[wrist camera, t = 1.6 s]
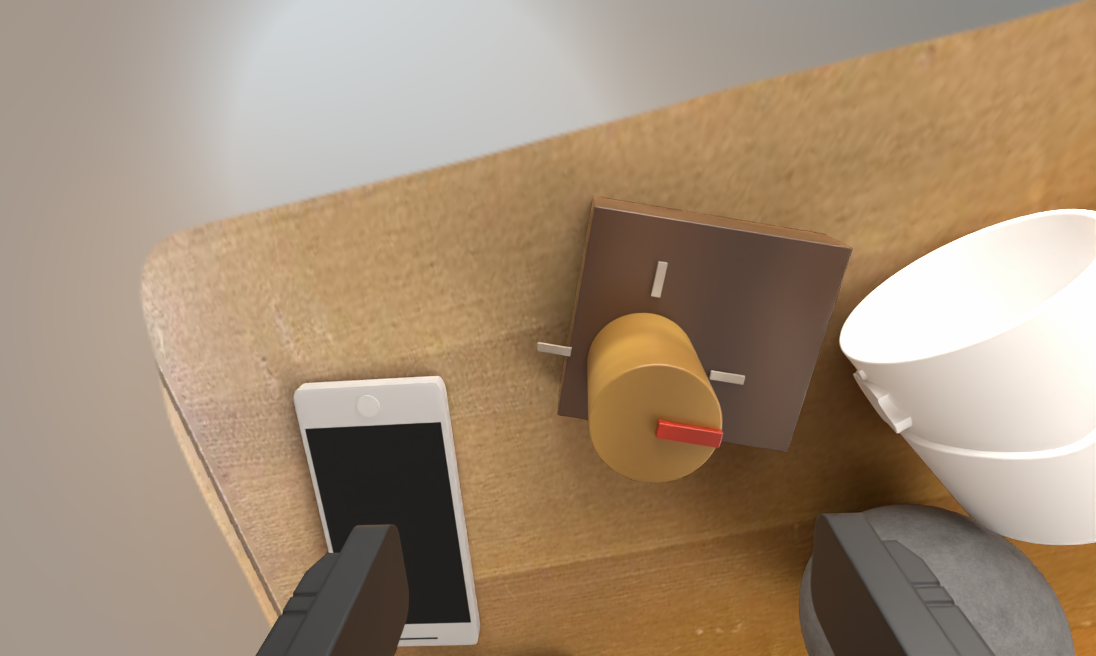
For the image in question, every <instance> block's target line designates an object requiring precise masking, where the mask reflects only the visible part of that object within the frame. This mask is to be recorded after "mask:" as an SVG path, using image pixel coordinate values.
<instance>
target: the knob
mask: <svg viewBox="0 0 1096 656" xmlns="http://www.w3.org/2000/svg"><path fill="white" fill-rule="evenodd" d="M587 384H588V430H589V436H590V440H591V443H592V445H593V448H594V450H595V452H596V453H597V455H598V456H599V457H600V459H601V460H602V461H603V462H604V463H605V464H606V465H607V466H608V467H609V468H611V469H612V470H613V471H615V472H616V473H618V474H620V475H622V476H624V477H626V478H629V479H631V480H635V481H639V482H646V483H661V482H668V481H673V480H676V479H679V478H682V477H684V476H686V475H688V474H690V473H692V472H693V471H695V470H696V469H698V468H699V467H700V466H701V465H703V464H704V463H705V462H706V460H707V459H708V458H709V457H710V456H711V454H712V453H713V451H714V450H715V448H720V444H721V441H722V437H723V432H722V411H721V407H720V404H719V401H718V399H717V397H716V395H715V392H714V390H713V388H712V386H711V384H710V382H709V380H708V377H707V375H706V373H705V371H704V369H703V367H702V365H701V363H700V360H699V358H698V356H697V354H696V352H695V350H694V348H693V345H692V343H691V341H690V339H689V338H688V336H687V334H686V333H685V332H684V331H683V330H682V329H681V328H680V327H679V326H678V325H677V324H676V323H674V322H673V321H671V320H669V319H667V318H665V317H663V316H660V315H656V314H652V313H634V314H628V315H625V316H622V317H620V318H617V319H615V320H613V321H612V322H610V323H609V324H607V325H606V326H605V327H604V328H603V329H602V330H601V331H600V332H599V333H598V334H597V336H596V337H595V339H594V340H593V342H592V344H591V346H590V349H589V353H588V358H587Z"/></svg>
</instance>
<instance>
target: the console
mask: <svg viewBox="0 0 1096 656" xmlns="http://www.w3.org/2000/svg"><path fill="white" fill-rule="evenodd" d="M851 252H852V248H851V247H849V246H847V245H845V244H843V243H841V242H839V241H837V240H835V239H833V238H831V237H829V236H827V235H825V234H822V233H816V232H810V231H804V230H798V229H792V228H786V227H779V226H773V225H767V224H761V223H755V222H749V221H743V220H737V219H731V218H725V217H719V216H712V215H706V214H700V213H694V212H688V211H682V210H676V209H670V208H664V207H658V206H651V205H645V204H639V203H633V202H627V201H621V200H615V199H609V198H603V197H597V196H593V200H592V206H591V211H590V217H589V223H588V228H587V234H586V240H585V245H584V251H583V257H582V262H581V268H580V274H579V279H578V285H577V291H576V296H575V302H574V307H573V313H572V319H571V324H570V330H569V336H568V341H567V347H566V346H560V345H554V344H548V343H542V342H538V345H537V351H540V352H546V353H552V354H558V355H564V356H565V358H564V364H563V370H562V375H561V381H560V388H559V400H558V412H557V414H558V415H561V416H568V417H574V418H580V419H586V420H588V384H587V358H588V353H589V349H590V346H591V344H592V342H593V340H594V339H595V337H596V336H597V334H598V333H599V332H600V331H601V330H602V329H603V328H604V327H605V326H606V325H607V324H609V323H610V322H612V321H613V320H615V319H617V318H620V317H622V316H625V315H628V314H634V313H652V314H656V315H660V316H663V317H665V318H667V319H669V320H671V321H673V322H674V323H676V324H677V325H678V326H679V327H680V328H681V329H682V330H683V331H684V332H685V333H686V334H687V336H688V338H689V339H690V341H691V343H692V345H693V348H694V350H695V352H696V354H697V356H698V358H699V360H700V363H701V365H702V367H703V369H704V371H705V373H706V375H707V377H708V380H709V382H710V384H711V386H712V388H713V390H714V392H715V395H716V397H717V399H718V401H719V404H720V407H721V411H722V432H723V437H722V441H721V442H727V443H733V444H739V445H745V446H751V447H757V448H763V449H770V450H776V451H782V452H788V449H789V446H790V442H791V439H792V436H793V433H794V430H795V427H796V424H797V421H798V418H799V414H800V411H801V408H802V405H803V402H804V399H805V396H806V393H807V390H808V386H809V383H810V380H811V377H812V374H813V371H814V368H815V365H816V361H817V358H818V355H819V352H820V349H821V346H822V343H823V340H824V337H825V333H826V330H827V327H828V324H829V321H830V318H831V315H832V312H833V309H834V305H835V302H836V299H837V296H838V293H839V290H840V287H841V284H842V280H843V277H844V274H845V271H846V268H847V265H848V262H849V259H850V256H851Z"/></svg>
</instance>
